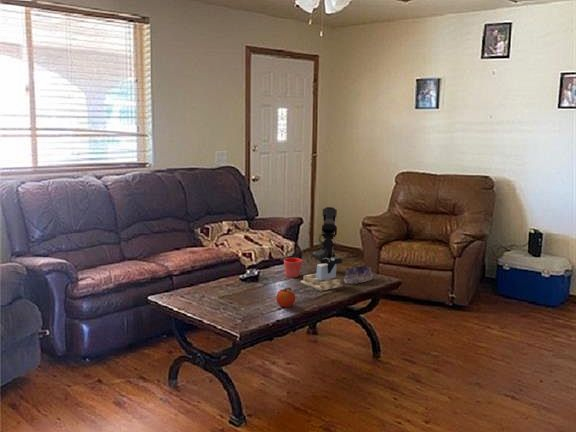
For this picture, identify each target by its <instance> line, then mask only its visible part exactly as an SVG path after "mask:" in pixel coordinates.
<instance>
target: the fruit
mask: <svg viewBox="0 0 576 432" xmlns="http://www.w3.org/2000/svg"><path fill="white" fill-rule="evenodd" d="M275 297H276V298H275V300H276V303H277V305H279V306H280V307H281V308H290V307H292V306H293V305H294V304H295V301H296V294H295V292H294V290H292V288H291V287H284V288H283V289H279V290H278V292H277V294H276V296H275Z"/></svg>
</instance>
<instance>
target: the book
mask: <svg viewBox="0 0 576 432" xmlns="http://www.w3.org/2000/svg"><path fill="white" fill-rule="evenodd" d="M337 265H338V264H335V265H334V267H333V269H332V271H331V272H330V273H328V264H327V263H323V264H321V263H317V265H316V273H317V274H316V273H315V274H316V278H317V279H319V280H324V279H329V278H332V279H333V278H334V279H335V278H337Z"/></svg>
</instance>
